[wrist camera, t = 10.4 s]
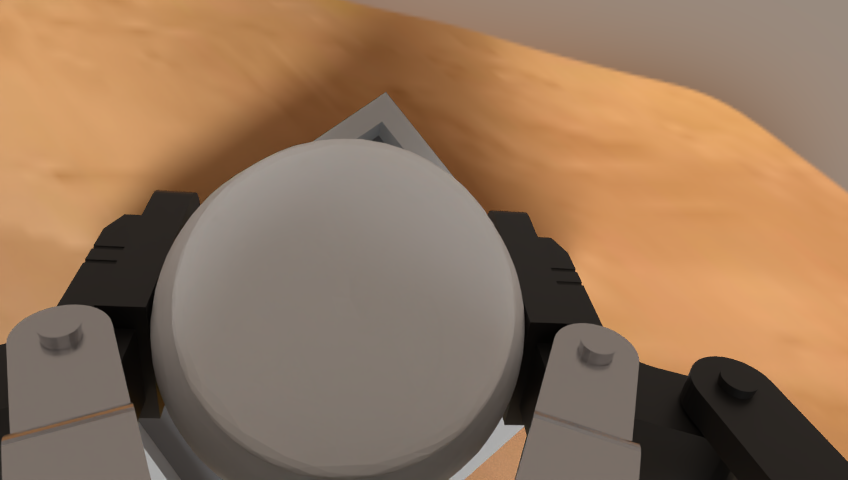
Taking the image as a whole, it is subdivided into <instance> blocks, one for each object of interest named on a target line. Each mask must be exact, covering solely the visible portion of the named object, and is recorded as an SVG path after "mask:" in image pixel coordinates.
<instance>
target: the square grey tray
mask: <svg viewBox="0 0 848 480" xmlns="http://www.w3.org/2000/svg"><path fill="white" fill-rule="evenodd" d="M329 139H364V140H370V141H375V142H381V143H386V144H390V145H393V146H396V147H399V148H402V149H405V150H408V151H411V152H413V153H415V154H417V155H419V156H421V157H423V158H425V159H427V160H429V161H431V162H432V163H434V164H435V165H437V166H439V167H440V168H442V169H443V170H445V171H446V172H447V173H449V174H450V175H451V176H453V175H452V174H451V173H450V172H449V170H448V169H447V168H446V167H445V165H444V164H443V163H442V162H441V160H440V159H439V158H438V157H437V155H436V154H435V153H434V152H433V150H432V149H431V148H430V147H429V145H428V144H427V143H426V142H425V140H424V139H423V138H422V137H421V135H420V134H419V133H418V132H417V130H416V129H415V128H414V127H413V125H412V124H411V123H410V122H409V120H408V119H407V118H406V117H405V115H404V114H403V113H402V111H401V110H400V109H399V108H398V106H397V105H396V104H395V103H394V101H393V100H392V99H391V98H390V96H389V95H388V94H387V93H386V92H385V93H384V94H382V95H381V96H379V97H378V98H376V99H375V100H373V101H372V102H370V103H369V104H367V105H366V106H364V107H363V108H361V109H360V110H359V111H357V112H356V113H354V114H353V115H351V116H350V117H348V118H347V119H345V120H344V121H342V122H341V123H339V124H338V125H336V126H335V127H333V128H332V129H330V130H329V131H327V132H326V133H324V134H323V135H322V136H320V137H319V138H317V139H316V140H314V141H319V140H329ZM314 141H313V142H314ZM138 426H139V430H140V434H141V439H142V443H143V447H144V451H145V456H146V460H147V464H148V468H149V473H150V477H151V480H223V479H221V478H220V477H219V476H217V475H216V474H215V473H214V472H213V471H212V470H211V469H209V468H208V467H207V466H206V465H205V464H204V463H203V462H202V461H201V460H200V459H199V457H198V456H197V455H196V454H195V453H194V452H193V450H192V449H191V448H190V446H189V445H188V444H187V443H186V441H185V440H184V439H183V437H182V435H181V434H180V432H179V431H178V429H177V428H176V426H175V424H174V422H173V421H172V419H171V417H170V415H169V413H168V411H167V409H166V406H164V409H163V412H162V415H161V418H160V419H157V418H139V419H138ZM523 427H524V425H504V421H503V417H502V418H501V420H500V422H499V423H498V425H497V427H496V428H495V430H494V432H493V433H492V434H491V436H490V437H489V439H488V440H487V442H486V443H485V444H484V446H483V447H482V448H481V450H480V451H479V452H478V453H477V454H476V455H475V456H474V457H473V458H472V459H471V460H470V461H469V462H468V463H467V464H466V465H465V466H464V467H463V468H462V469H461V470H460V471H458V472H457V473H456V474H455V475H454V476H452V477H451V478H450V479H449V480H464V479H465V478H466V477H468V476H469V475H470V474H471V473H472V472H473V471H474V470H475V469H477V468H478V467H479V466H480V465H481V464H482V463H483V462H485V461H486V460H487V459H488V458H489V457H490V456H491V455H492V454H494V453H495V452H496V451H497V450H498V449H499V448H500V447H501V446H503V445H504V444H505V443H506V442H507V441H508V440H509V439H510V438H512V437H513V436H514V435H515V434H516V433H517V432H518V431H520V430H521V429H522V428H523Z"/></svg>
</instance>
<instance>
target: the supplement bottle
mask: <svg viewBox="0 0 848 480" xmlns="http://www.w3.org/2000/svg"><path fill="white" fill-rule="evenodd" d="M524 335H525V316H524V305H523V300H522V294H521V289H520V284H519V280H518V276H517V273H516V270H515V267H514V264H513V262H512V259H511V257H510V254H509V252H508V250H507V248H506V246H505V244H504V242H503V240H502V238H501V236H500V235H499V233H498V231H497V230H496V228H495V226H494V224H493V222H492V221H491V220H490V218H489V217H488V215H487V214H486V212H485V210H484V209H483V208H482V206H481V205H480V204H479V203H478V202H477V200H476V199H475V198H474V197H473V196H472V195H471V194H470V192H469V191H468V190H467V189H466V188H465V187H464V186H463V185H462V184H461V183H459V182H458V181H457V180H456V179H455V178H454V177H453V176H451V175H450V174H449V173H447V172H446V171H445V170H443V169H442V168H440V167H439V166H437V165H435V164H434V163H432V162H431V161H429V160H427V159H425V158H423V157H421V156H419V155H417V154H415V153H413V152H411V151H408V150H405V149H402V148H399V147H396V146H393V145H390V144H386V143H381V142H375V141H370V140H364V139H329V140H319V141H314V142H309V143H305V144H300V145H295V146H292V147H290V148H287V149H284V150H281V151H279V152H277V153H275V154H273V155H270V156H268V157H266V158H264V159H262V160H261V161H259V162H257V163H255V164H253V165H252V166H250V167H248V168H247V169H245V170H243V171H242V172H240V173H238V174H237V175H235V176H234V177H232V178H231V179H230V180H228V181H227V182H225V183H224V184H223V185H221V186H220V187H219V188H218V189H216V190H215V191H214V192H213V193H212V194H211V195H210V196H209V197H208V198H207V199H206V200H205V201H204V202H203V203H202V204H201V205H200V206H199V207H198V209H197V210H196V211H195V212H194V213H193V214H192V215H191V217H190V218H189V220H188V221H187V222H186V224H185V225H184V227H183V228H182V230H181V231H180V233H179V234H178V236H177V237H176V239H175V241H174V243H173V245H172V247H171V248H170V250H169V252H168V254H167V256H166V259H165V262H164V264H163V267H162V270H161V272H160V275H159V279H158V282H157V285H156V289H155V294H154V300H153V306H152V313H151V319H150V341H151V351H152V362H153V367H154V372H155V377H156V381H157V385H158V388H159V391H160V394H161V397H162V399H163V402H164V404H165V406H166V409H167V411H168V413H169V415H170V417H171V419H172V421H173V422H174V424H175V426H176V428H177V429H178V431H179V432H180V434H181V435H182V437H183V439H184V440H185V441H186V443H187V444H188V445H189V446H190V448H191V449H192V450H193V452H194V453H195V454H196V455H197V456H198V457H199V459H200V460H201V461H202V462H203V463H204V464H205V465H206V466H207V467H208V468H209V469H211V470H212V471H213V472H214V473H215V474H216V475H217V476H219V477H220V478H221V479H223V480H449V479H450V478H451V477H452V476H454V475H455V474H456V473H457V472H458V471H460V470H461V469H462V468H463V467H464V466H465V465H466V464H467V463H468V462H469V461H470V460H471V459H472V458H473V457H474V456H475V455H476V454H477V453H478V452H479V451H480V450H481V448H482V447H483V446H484V444H485V443H486V442H487V440H488V439H489V437H490V436H491V434H492V433H493V432H494V430H495V428H496V427H497V425H498V423H499V422H500V420H501V418H502V417H503V414H504V412H505V410H506V408H507V406H508V404H509V402H510V400H511V397H512V395H513V392H514V389H515V386H516V383H517V379H518V376H519V371H520V366H521V362H522V357H523V347H524Z"/></svg>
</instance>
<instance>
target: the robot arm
mask: <svg viewBox="0 0 848 480" xmlns="http://www.w3.org/2000/svg"><path fill="white" fill-rule="evenodd" d="M199 206H200V202H199V197H198V194H197V193H194V192H177V191H160V190H156V191H155V192H154V193H153V195H152V197H151V199H150V200H149V202H148V204H147V206H146V208H145V210H144V212H143V214H142V215H126V214H124V215H123V216H122V217H120V218H119V219H117V220H116V221H114V222H113V223H111V224H110V225H108V226H107V227H105V228H104V229H103V231H102V232H101V234H100V236H99V237H98V239H97V241H96V242H95V244H94V249H91V251H90V252H89V254H88V256H87V257H86V259H85V263H83V264H82V265H81V267H80V269H79V270H78V272H77V274H76V275H75V277H74V279H73V280H72V282H71V284H70V285H69V287H68V289H67V290H66V292H65V293H64V295H63V297H62V298H61V300H60V302H59V303H58V305H57V306H56V307H52V308H48V309H45V310H42V311H39V312H37V313H34V314H32V315H30V316H29V317H27V318H25V319H24V320H22V321H21V322H20V323H18V324H17V325H16V326H15V327H14V328H13V329H12V331H11V332H10V334H9V336H8V338H7V343H6V344H2V345H0V480H151V477H150V473H149V468H148V464H147V460H146V456H145V451H144V447H143V443H142V439H141V434H140V430H139V426H138V419H139V418H157V419H160V418H161V415H162V412H163V409H164V406H165V404H164V402H163V399H162V397H161V394H160V391H159V388H158V385H157V381H156V377H155V372H154V367H153V362H152V351H151V341H150V319H151V313H152V306H153V300H154V294H155V289H156V285H157V282H158V279H159V275H160V272H161V270H162V267H163V264H164V262H165V259H166V256H167V254H168V252H169V250H170V248H171V247H172V245H173V243H174V241H175V239H176V237H177V236H178V234H179V233H180V231H181V230H182V228H183V227H184V225H185V224H186V222H187V221H188V220H189V218H190V217H191V215H192V214H193V213H194V212H195V211H196V210H197V209H198V207H199ZM488 217H489V218H490V220H491V221H492V222H493V224H494V226H495V228H496V230H497V231H498V233H499V235H500V236H501V238H502V240H503V242H504V244H505V246H506V248H507V250H508V252H509V254H510V257H511V259H512V262H513V264H514V267H515V270H516V273H517V276H518V280H519V284H520V289H521V294H522V300H523V305H524V316H525V335H524V347H523V357H522V362H521V366H520V371H519V376H518V379H517V383H516V386H515V389H514V392H513V395H512V397H511V400H510V402H509V404H508V406H507V408H506V410H505V412H504V414H503V421H504V425H524V427H525V430H526V434H527V437H526V440H525V444H524V448H523V451H522V455H521V458H520V462H519V466H518V469H517V473H516V477H515V480H848V461H847V460H846V459H845V458H844V457H843V456H842V455H841V454H840V453H839V452H838V451H837V450H836V449H835V448H834V447H833V446H832V445H831V444H830V443H829V442H828V440H827V439H826V438H825V437H824V436H823V435H822V434H821V433H820V432H819V431H818V430H817V429H816V428H815V427H814V426H813V425H812V424H811V423H810V422H809V421H808V419H807V418H806V417H805V416H804V415H803V414H802V413H801V412H800V411H799V410H798V409H797V408H796V407H795V406H794V405H793V404H792V403H791V402H790V401H789V400H788V399H787V397H786V396H785V395H784V394H783V393H782V392H781V391H780V390H779V389H778V388H777V387H776V386H775V385H774V384H773V383H772V382H771V381H770V380H769V379H768V378H767V377H766V376H765V375H763V374H762V373H761V372H759V371H758V370H756V369H754V368H753V367H751V366H749V365H747V364H745V363H742V362H740V361H737V360H734V359H730V358H725V357H717V356H714V357H705V358H702V359H699V360H698V361H696V362H695V363H694V364H693V366H692V368H691V370H690V372H689V375H688V376H686V375H682V374H678V373H674V372H670V371H667V370H663V369H659V368H655V367H652V366H649V365H646V364H643V363H641V362H639V357H638V354H637V352H636V350H635V348H634V347H633V346H632V344H631V343H630V342H629V341H628V340H627V339H625V338H624V337H623V336H621V335H620V334H618V333H616V332H615V331H612V330H610V329H608V328H605V327H603V326H602V324H601V322H600V320H599V318H598V315H597V313H596V311H595V309H594V307H593V305H592V303H591V301H590V299H589V297H588V294H587V292H586V290H585V288H584V286H582V285H581V283H582V282H581V280H580V278H579V276H578V273H577V272H575V267H574V265H573V263H572V261H571V259H570V257H569V255H568V253H567V252H566V251H565V250H564V249H563V248H562V247H561V246H559V245H558V244H557V243H556V242H555V241H554V240H553V239H552V238H542V237H537V234H536V232H535V230H534V227H533V225H532V222H531V220H530V218H529V216H528V214H527V213H525V212H508V211H490V212H489V213H488Z"/></svg>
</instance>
